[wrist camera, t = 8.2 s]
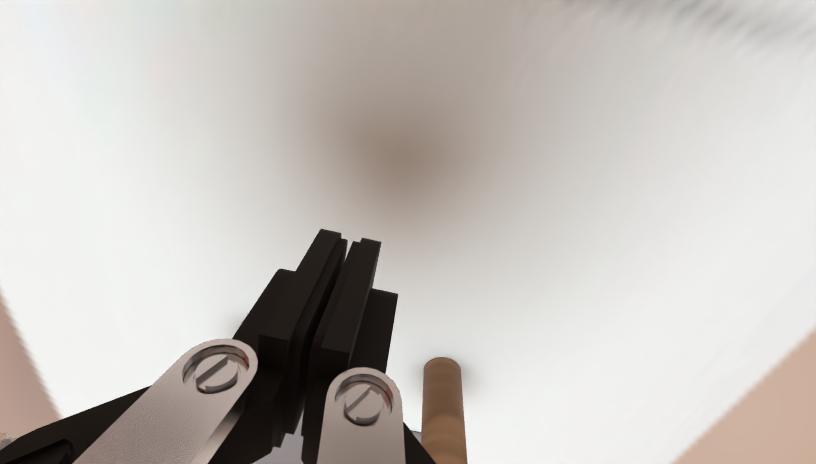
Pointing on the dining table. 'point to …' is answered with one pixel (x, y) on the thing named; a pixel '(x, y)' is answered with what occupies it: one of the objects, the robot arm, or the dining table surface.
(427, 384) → the post
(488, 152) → the dining table surface
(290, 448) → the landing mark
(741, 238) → the dining table surface
